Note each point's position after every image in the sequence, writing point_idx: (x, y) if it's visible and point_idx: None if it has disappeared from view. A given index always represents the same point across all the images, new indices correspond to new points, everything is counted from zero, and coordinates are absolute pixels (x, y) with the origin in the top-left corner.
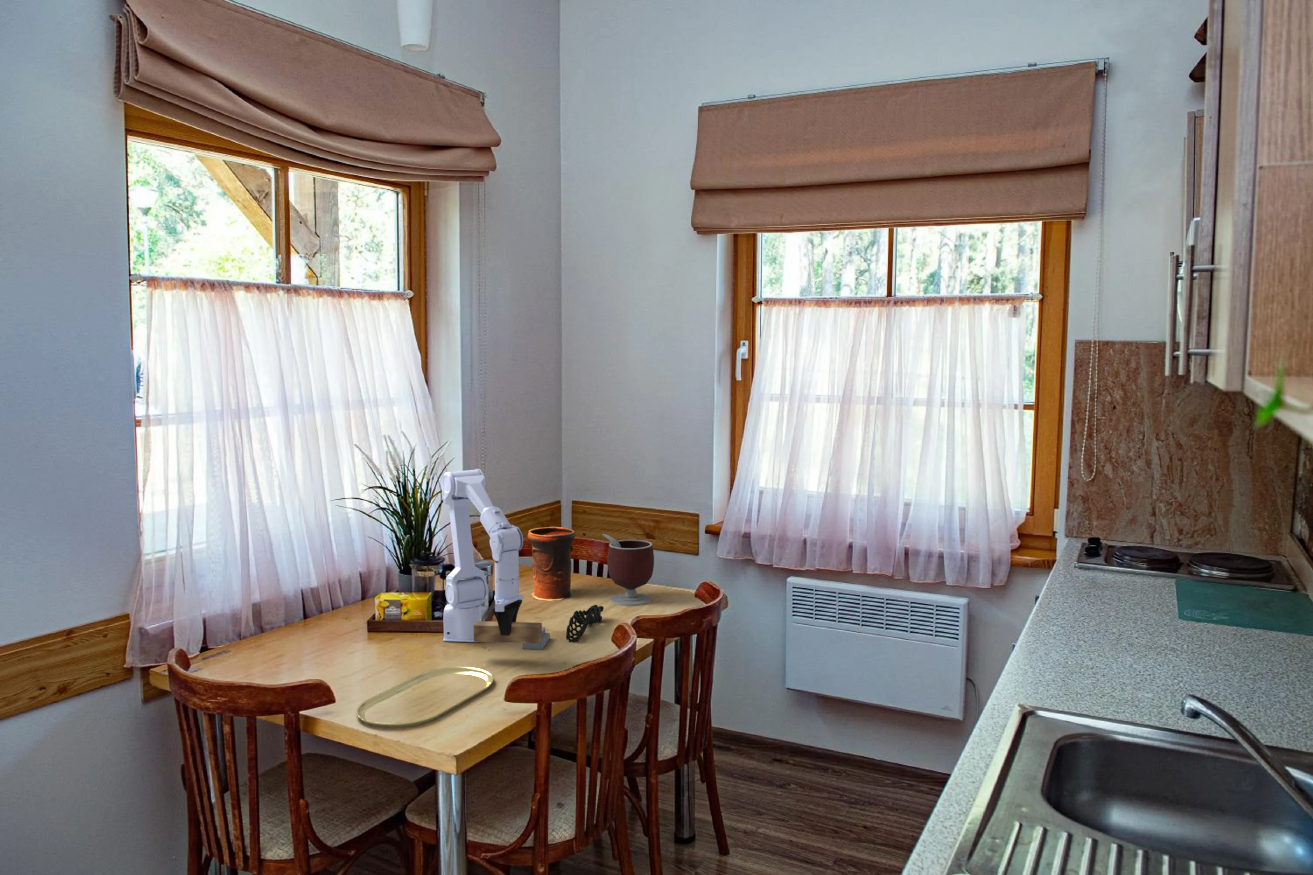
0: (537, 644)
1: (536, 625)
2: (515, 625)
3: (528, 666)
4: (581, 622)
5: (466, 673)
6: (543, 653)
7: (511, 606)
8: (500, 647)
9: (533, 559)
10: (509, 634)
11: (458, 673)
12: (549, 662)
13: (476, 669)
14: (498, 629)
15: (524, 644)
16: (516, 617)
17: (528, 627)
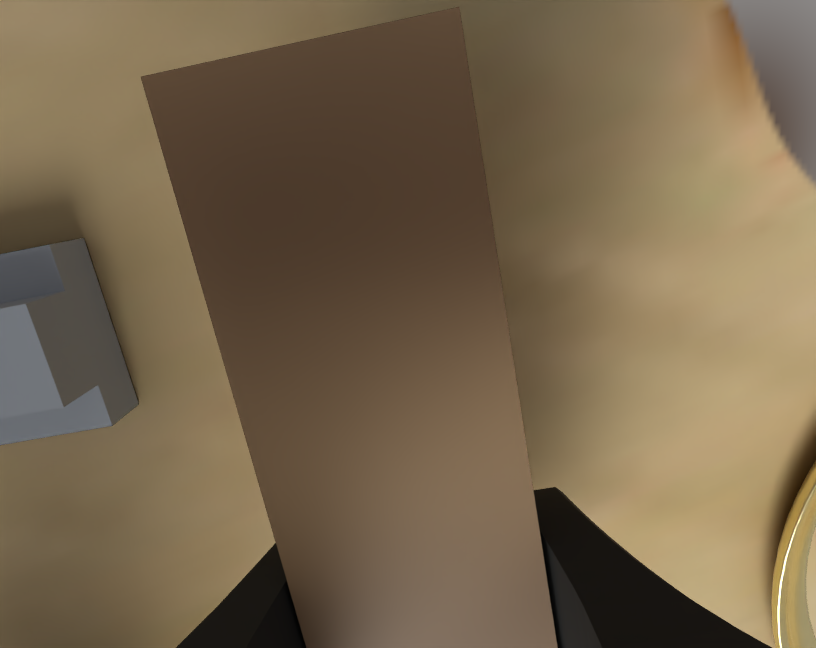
0: (72, 288)
1: (359, 110)
2: (471, 505)
3: (541, 167)
4: None
5: (802, 561)
6: None
7: None
8: (178, 573)
9: None
10: (558, 490)
11: (802, 611)
12: (385, 13)
13: (805, 516)
14: None
15: (113, 405)
16: (206, 635)
17: (489, 239)
